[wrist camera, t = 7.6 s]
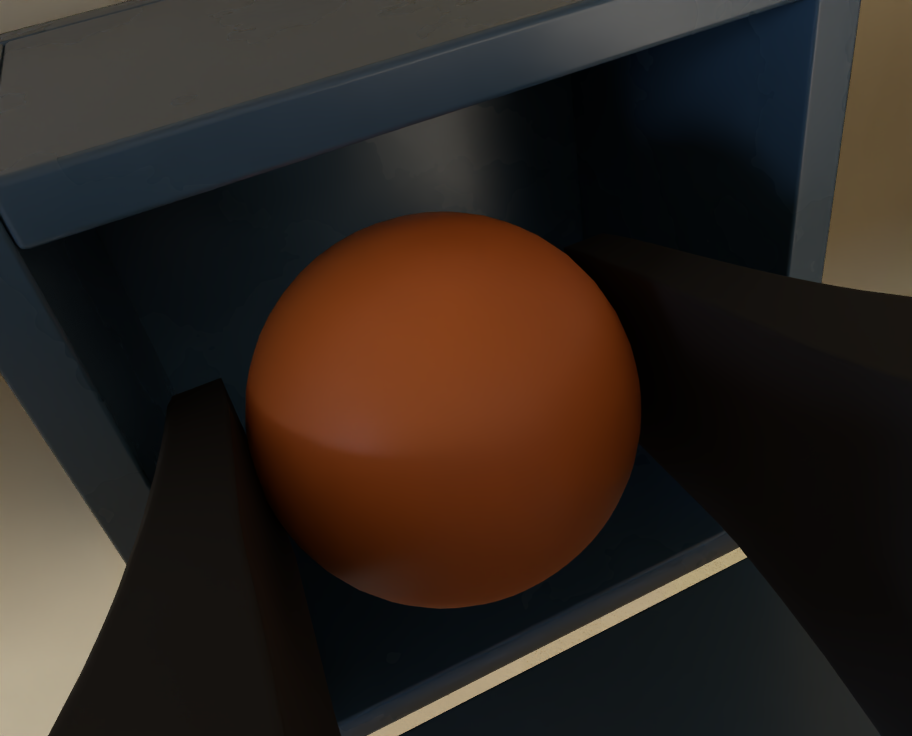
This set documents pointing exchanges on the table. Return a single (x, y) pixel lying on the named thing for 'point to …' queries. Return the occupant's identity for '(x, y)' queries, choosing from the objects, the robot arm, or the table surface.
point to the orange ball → (443, 410)
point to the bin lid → (676, 676)
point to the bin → (376, 200)
